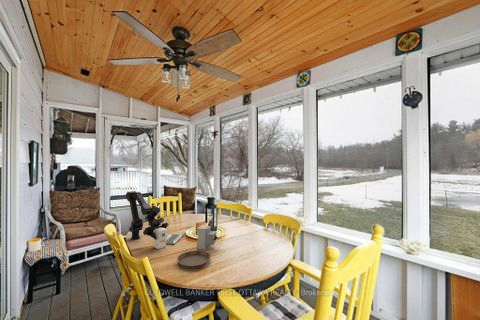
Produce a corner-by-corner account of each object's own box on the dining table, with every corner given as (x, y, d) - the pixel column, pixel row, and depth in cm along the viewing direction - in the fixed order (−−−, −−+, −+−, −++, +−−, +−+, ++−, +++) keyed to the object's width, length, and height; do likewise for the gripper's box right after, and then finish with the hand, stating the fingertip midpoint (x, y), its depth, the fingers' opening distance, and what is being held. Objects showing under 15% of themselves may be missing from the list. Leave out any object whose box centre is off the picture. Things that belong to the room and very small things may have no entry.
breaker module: (153, 246, 159) (154, 229, 159) (161, 244, 164) (162, 227, 164) (159, 249, 155) (160, 231, 155) (166, 246, 160) (167, 229, 160)
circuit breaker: (215, 250, 154) (215, 229, 155) (196, 248, 157) (197, 228, 158) (218, 246, 162) (218, 226, 162) (200, 245, 165) (200, 225, 165)
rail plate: (159, 244, 165) (159, 241, 165) (170, 235, 185) (170, 232, 185) (174, 244, 164) (174, 241, 164) (183, 236, 184) (183, 233, 184)
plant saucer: (212, 268, 129) (213, 262, 129) (177, 272, 123) (177, 266, 123) (208, 254, 149) (208, 249, 149) (177, 257, 143) (177, 252, 143)
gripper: (145, 216, 154) (154, 234, 148) (167, 212, 170) (176, 228, 163) (139, 226, 158) (147, 244, 152) (160, 220, 174) (169, 237, 168)
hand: (161, 237), depth 159 cm, fingers closed on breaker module, 7 cm apart
